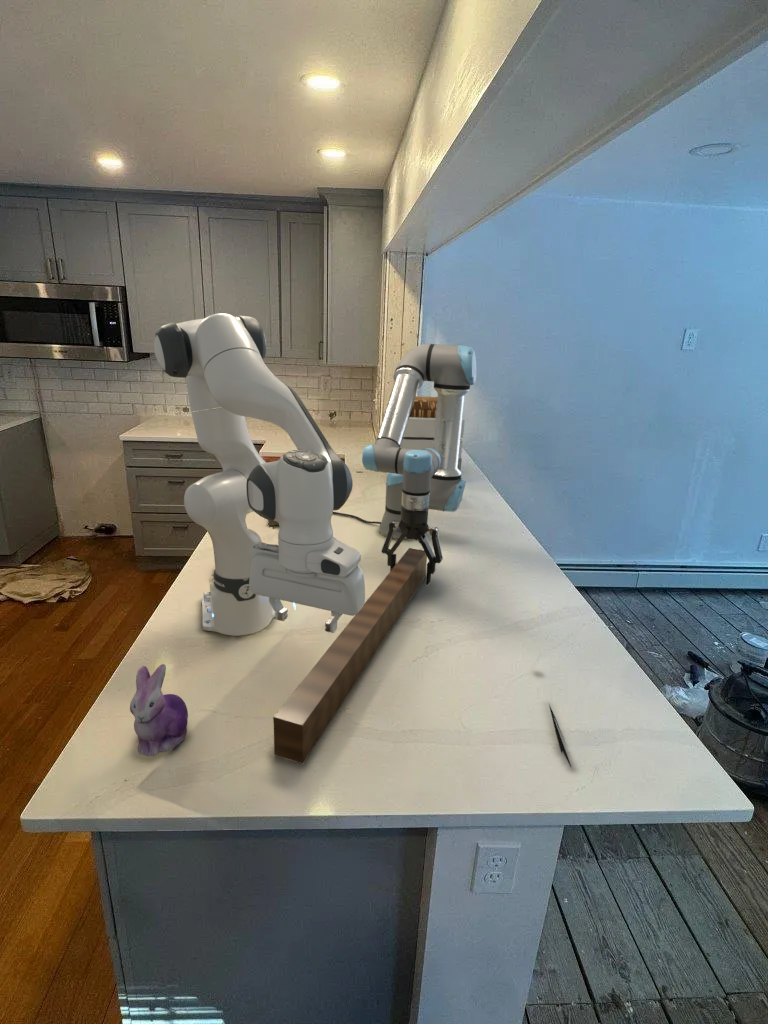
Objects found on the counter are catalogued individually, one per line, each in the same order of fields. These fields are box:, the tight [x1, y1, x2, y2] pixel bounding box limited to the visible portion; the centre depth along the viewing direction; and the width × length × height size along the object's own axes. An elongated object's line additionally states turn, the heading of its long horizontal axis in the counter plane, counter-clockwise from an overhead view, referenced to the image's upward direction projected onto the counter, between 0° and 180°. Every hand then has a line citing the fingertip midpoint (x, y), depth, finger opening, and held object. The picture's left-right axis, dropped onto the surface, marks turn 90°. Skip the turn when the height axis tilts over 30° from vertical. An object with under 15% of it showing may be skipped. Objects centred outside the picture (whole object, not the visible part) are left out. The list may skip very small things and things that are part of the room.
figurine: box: [129, 663, 189, 757], centre depth 99 cm, size 9×10×15 cm
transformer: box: [400, 395, 465, 473], centre depth 268 cm, size 34×33×41 cm
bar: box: [272, 547, 428, 764], centre depth 133 cm, size 80×6×8 cm, turn 161°
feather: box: [548, 702, 572, 767], centre depth 112 cm, size 2×28×2 cm
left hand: (306, 624), depth 97 cm, fingers open, 8 cm apart
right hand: (410, 579), depth 163 cm, fingers open, 10 cm apart
